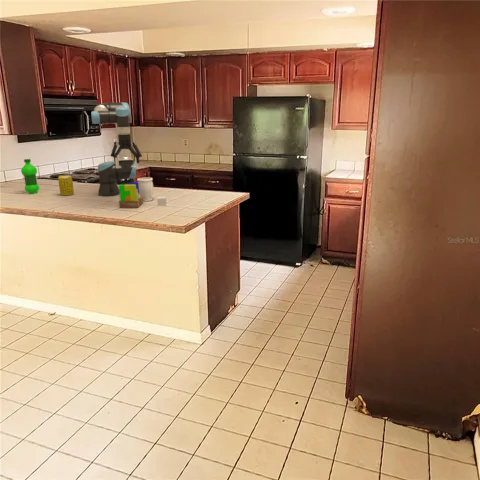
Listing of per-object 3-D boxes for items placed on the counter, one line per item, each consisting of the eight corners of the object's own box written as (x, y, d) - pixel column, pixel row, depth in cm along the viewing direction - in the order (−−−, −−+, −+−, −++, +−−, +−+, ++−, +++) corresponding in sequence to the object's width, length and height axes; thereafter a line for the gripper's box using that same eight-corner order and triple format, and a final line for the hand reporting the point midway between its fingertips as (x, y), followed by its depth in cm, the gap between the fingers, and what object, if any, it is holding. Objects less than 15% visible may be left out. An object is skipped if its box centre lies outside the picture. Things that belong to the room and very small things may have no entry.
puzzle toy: (139, 197, 280) (138, 182, 277) (136, 200, 270) (134, 185, 267) (124, 197, 280) (122, 182, 277) (120, 201, 270) (118, 185, 267)
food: (73, 194, 317) (73, 198, 308) (56, 192, 312) (56, 196, 304) (75, 175, 313) (76, 177, 304) (58, 172, 308) (58, 175, 299)
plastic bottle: (36, 194, 313) (30, 160, 305) (22, 194, 313) (16, 160, 305) (42, 191, 322) (37, 158, 314) (29, 191, 323) (23, 158, 315)
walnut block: (126, 204, 283) (125, 196, 282) (143, 204, 282) (142, 197, 281) (119, 208, 272) (118, 201, 270) (137, 208, 271) (137, 201, 269)
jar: (138, 199, 295) (136, 177, 290) (152, 197, 298) (151, 176, 294) (140, 202, 286) (138, 180, 281) (155, 201, 289) (153, 179, 284)
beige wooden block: (158, 204, 281) (158, 196, 279) (166, 204, 281) (165, 196, 279) (157, 206, 276) (157, 198, 274) (165, 205, 276) (164, 198, 275)
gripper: (102, 134, 261) (106, 168, 268) (140, 134, 256) (143, 169, 263) (108, 133, 268) (112, 166, 275) (145, 133, 263) (148, 167, 270)
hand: (127, 168), depth 269 cm, fingers open, 13 cm apart
